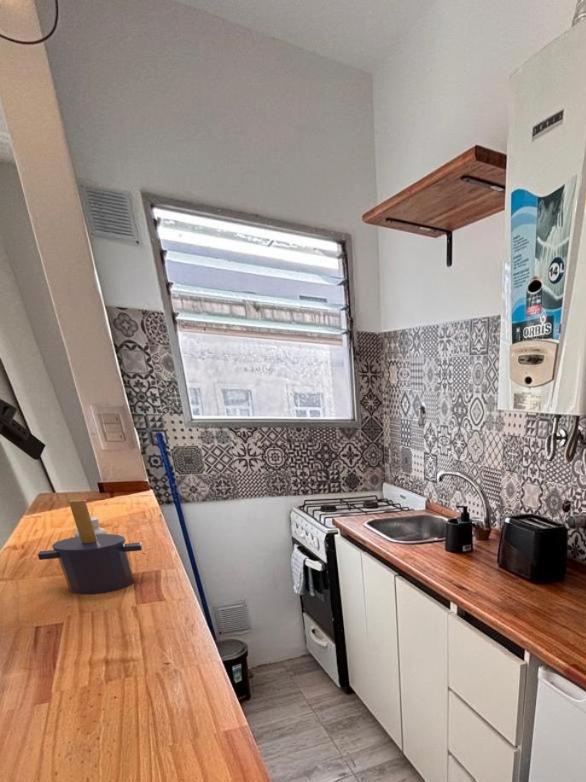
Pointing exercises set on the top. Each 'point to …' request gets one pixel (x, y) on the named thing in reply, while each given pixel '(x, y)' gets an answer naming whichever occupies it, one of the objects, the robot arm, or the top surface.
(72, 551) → the lid
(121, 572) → the pot
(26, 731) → the top surface
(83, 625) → the top surface
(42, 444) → the robot arm
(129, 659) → the top surface
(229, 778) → the top surface
